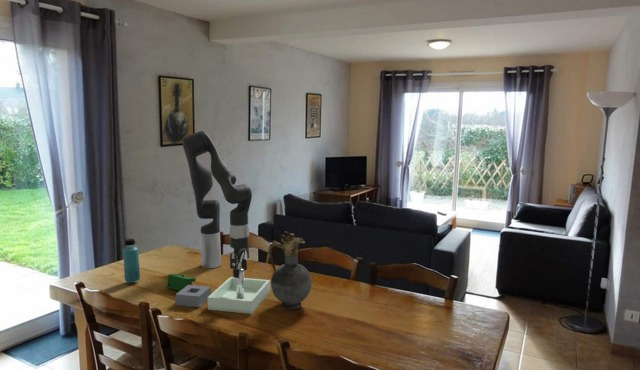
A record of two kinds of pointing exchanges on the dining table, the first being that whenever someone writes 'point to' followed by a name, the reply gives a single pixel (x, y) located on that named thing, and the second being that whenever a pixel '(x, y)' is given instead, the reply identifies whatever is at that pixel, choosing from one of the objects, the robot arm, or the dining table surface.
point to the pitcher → (290, 274)
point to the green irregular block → (179, 281)
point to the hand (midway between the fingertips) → (240, 273)
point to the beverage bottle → (131, 261)
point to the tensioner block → (193, 296)
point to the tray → (227, 296)
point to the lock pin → (240, 284)
